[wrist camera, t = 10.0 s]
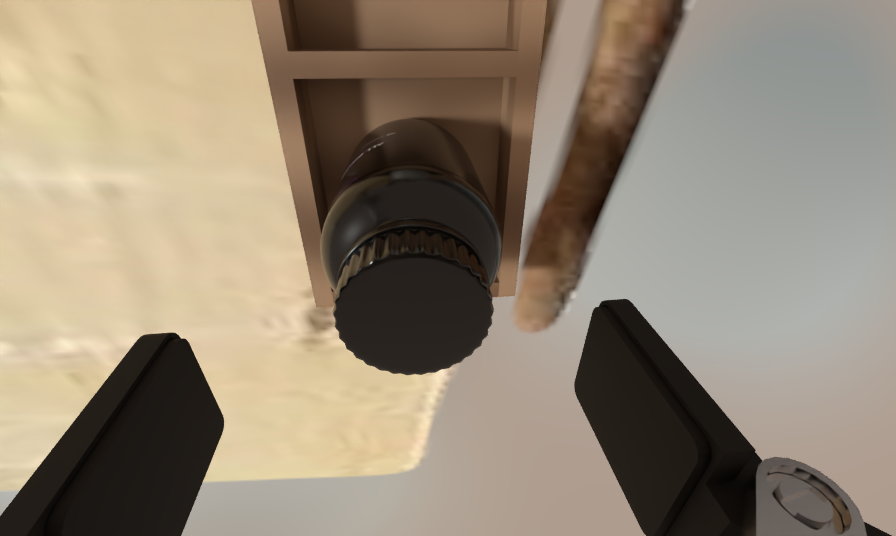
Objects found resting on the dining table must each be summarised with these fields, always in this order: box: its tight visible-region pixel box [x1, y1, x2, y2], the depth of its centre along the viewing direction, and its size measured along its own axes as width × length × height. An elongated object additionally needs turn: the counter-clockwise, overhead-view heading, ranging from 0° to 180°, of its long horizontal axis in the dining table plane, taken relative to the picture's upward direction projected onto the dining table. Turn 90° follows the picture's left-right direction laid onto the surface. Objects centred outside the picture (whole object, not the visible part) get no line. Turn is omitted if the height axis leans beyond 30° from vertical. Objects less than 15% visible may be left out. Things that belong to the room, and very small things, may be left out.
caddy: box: [251, 0, 547, 307], centre depth 18 cm, size 24×12×4 cm, turn 0°
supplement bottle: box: [320, 119, 502, 375], centre depth 17 cm, size 7×7×12 cm
